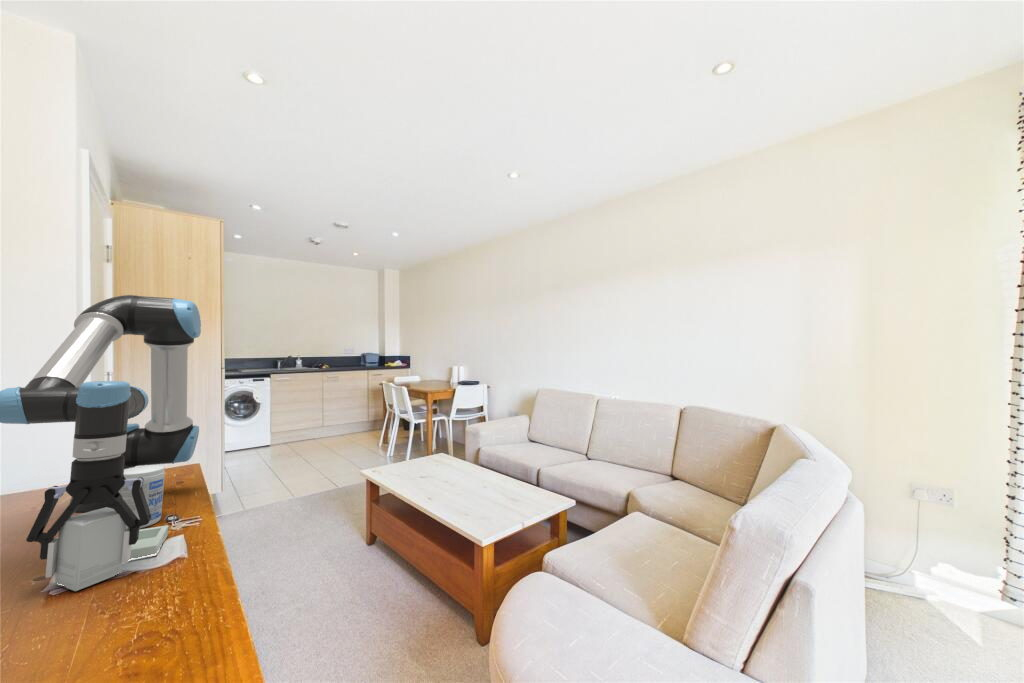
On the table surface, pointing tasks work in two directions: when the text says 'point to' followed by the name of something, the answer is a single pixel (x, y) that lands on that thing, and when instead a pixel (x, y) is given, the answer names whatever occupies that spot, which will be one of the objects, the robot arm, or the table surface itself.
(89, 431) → the robot arm
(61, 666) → the table surface
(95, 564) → the supplement box
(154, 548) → the holder tray
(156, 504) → the supplement tub
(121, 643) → the table surface
